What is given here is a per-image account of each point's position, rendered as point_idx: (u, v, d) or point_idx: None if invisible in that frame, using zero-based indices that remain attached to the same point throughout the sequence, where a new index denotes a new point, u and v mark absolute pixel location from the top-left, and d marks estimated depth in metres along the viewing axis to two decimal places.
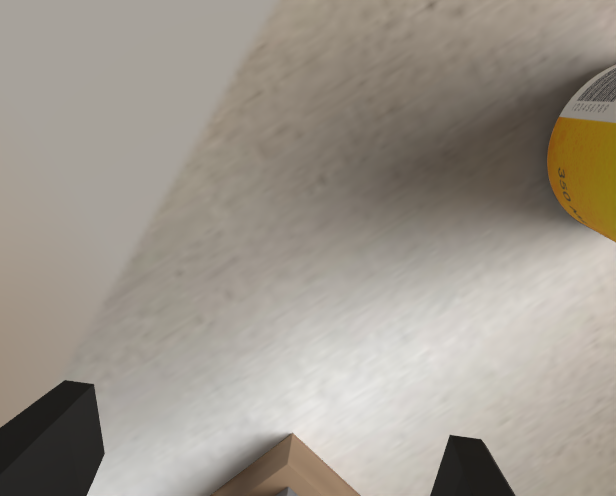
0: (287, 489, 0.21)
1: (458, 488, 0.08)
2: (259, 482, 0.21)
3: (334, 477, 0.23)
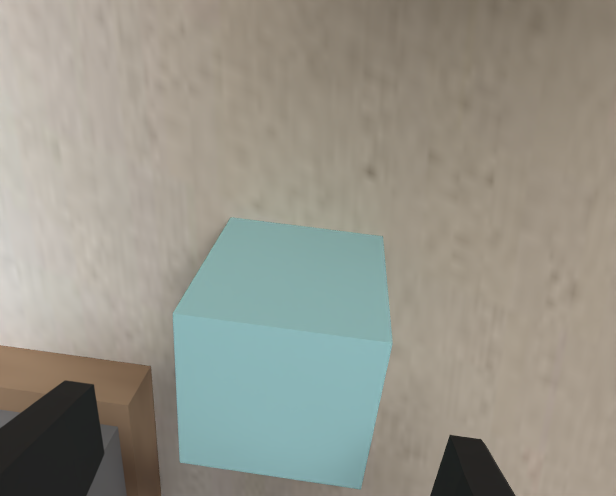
0: None
1: (458, 488, 0.08)
2: None
3: (7, 352, 0.17)
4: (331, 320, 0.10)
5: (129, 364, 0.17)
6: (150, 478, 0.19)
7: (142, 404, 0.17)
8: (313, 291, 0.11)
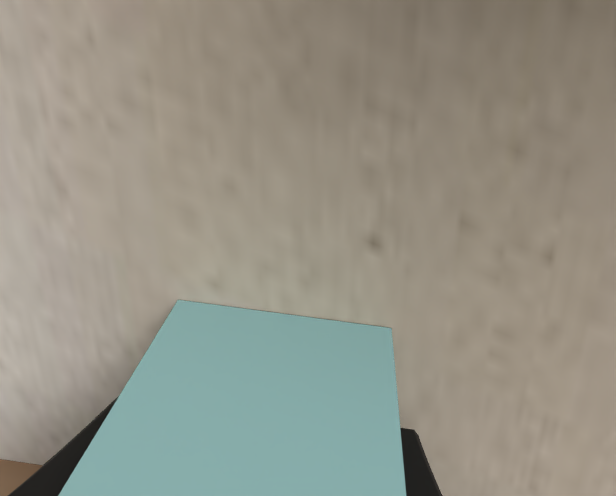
0: None
1: None
2: None
3: None
4: None
5: None
6: None
7: None
8: (284, 456, 0.07)
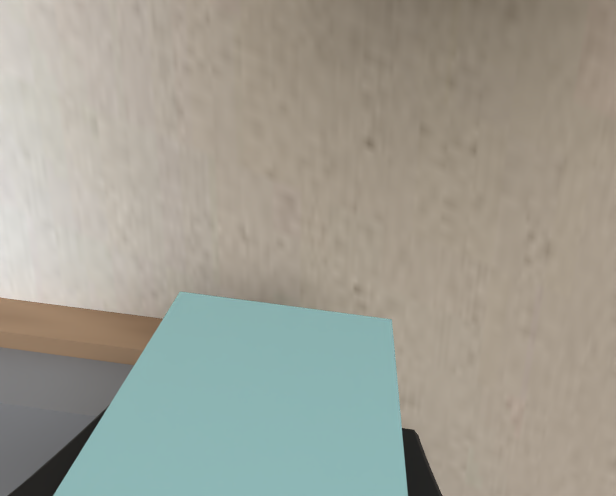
0: None
1: None
2: None
3: (42, 308, 0.19)
4: None
5: (151, 318, 0.19)
6: None
7: None
8: (285, 442, 0.07)
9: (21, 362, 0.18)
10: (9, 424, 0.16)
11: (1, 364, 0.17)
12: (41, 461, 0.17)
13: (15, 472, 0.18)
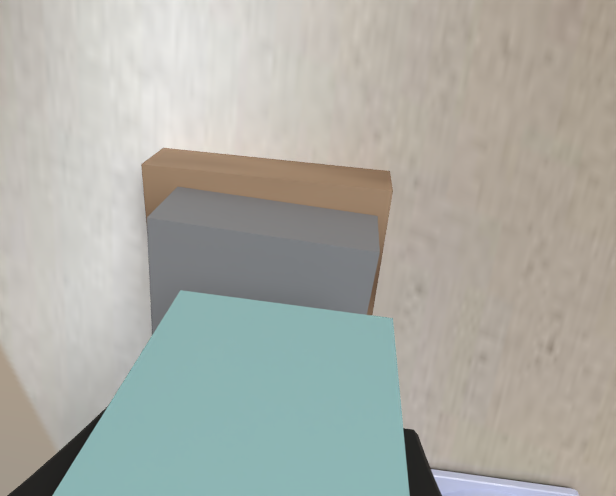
0: (175, 189, 0.15)
1: None
2: (147, 212, 0.16)
3: (241, 158, 0.17)
4: None
5: (367, 170, 0.17)
6: None
7: None
8: (286, 441, 0.07)
9: (242, 203, 0.15)
10: (247, 263, 0.14)
11: (221, 203, 0.15)
12: None
13: None
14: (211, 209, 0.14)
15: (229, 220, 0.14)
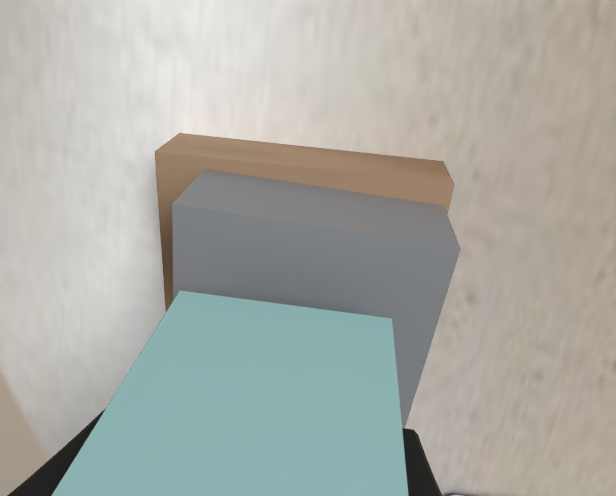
0: (202, 171, 0.13)
1: None
2: (160, 208, 0.14)
3: (270, 146, 0.14)
4: None
5: (418, 160, 0.14)
6: None
7: None
8: (285, 441, 0.07)
9: (284, 189, 0.12)
10: (294, 261, 0.11)
11: (259, 189, 0.12)
12: None
13: None
14: (248, 195, 0.12)
15: (272, 208, 0.11)
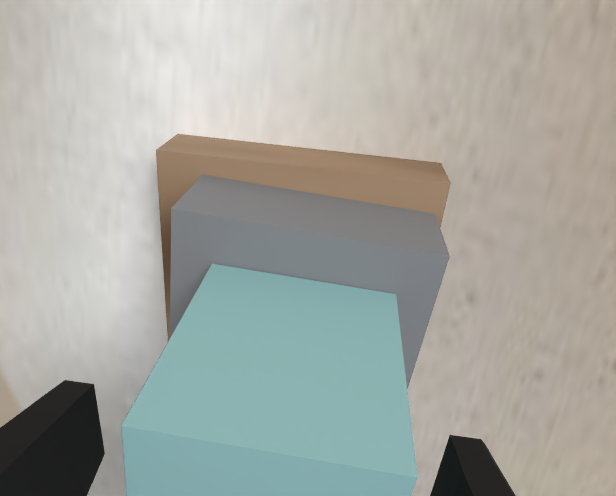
0: (201, 176, 0.13)
1: (458, 488, 0.08)
2: (161, 206, 0.14)
3: (269, 145, 0.14)
4: (335, 436, 0.08)
5: None
6: None
7: None
8: (311, 384, 0.09)
9: (280, 195, 0.13)
10: (288, 266, 0.12)
11: (256, 195, 0.13)
12: None
13: None
14: (245, 201, 0.12)
15: (268, 214, 0.12)
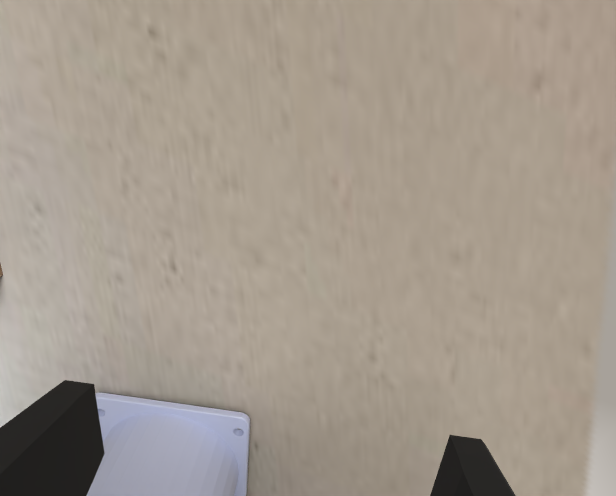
0: None
1: (458, 488, 0.08)
2: None
3: None
4: None
5: None
6: None
7: None
8: None
9: None
10: None
11: None
12: None
13: None
14: None
15: None
